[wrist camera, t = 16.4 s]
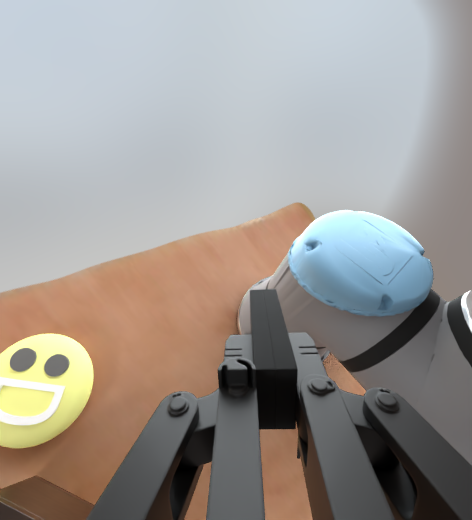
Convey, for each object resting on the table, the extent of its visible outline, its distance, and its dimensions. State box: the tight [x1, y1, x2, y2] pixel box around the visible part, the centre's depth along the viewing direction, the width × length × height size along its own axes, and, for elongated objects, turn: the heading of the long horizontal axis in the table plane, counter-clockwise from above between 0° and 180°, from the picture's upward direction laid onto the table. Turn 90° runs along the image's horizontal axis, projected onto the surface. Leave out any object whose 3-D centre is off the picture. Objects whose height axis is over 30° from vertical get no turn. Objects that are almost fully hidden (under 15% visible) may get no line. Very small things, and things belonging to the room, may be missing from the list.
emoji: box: [0, 334, 94, 448], centre depth 32 cm, size 4×12×12 cm
